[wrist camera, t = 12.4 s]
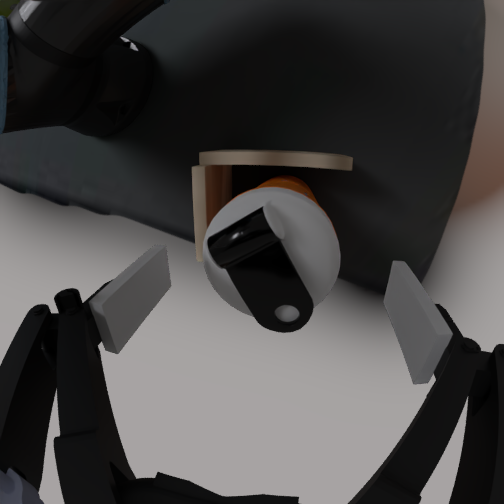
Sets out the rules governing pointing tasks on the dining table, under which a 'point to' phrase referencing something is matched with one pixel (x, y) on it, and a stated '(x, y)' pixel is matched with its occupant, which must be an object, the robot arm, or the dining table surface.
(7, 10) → the tea box
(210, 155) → the bookend
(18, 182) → the dining table surface
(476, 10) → the dining table surface
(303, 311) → the shaker bottle
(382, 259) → the dining table surface
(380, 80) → the dining table surface
